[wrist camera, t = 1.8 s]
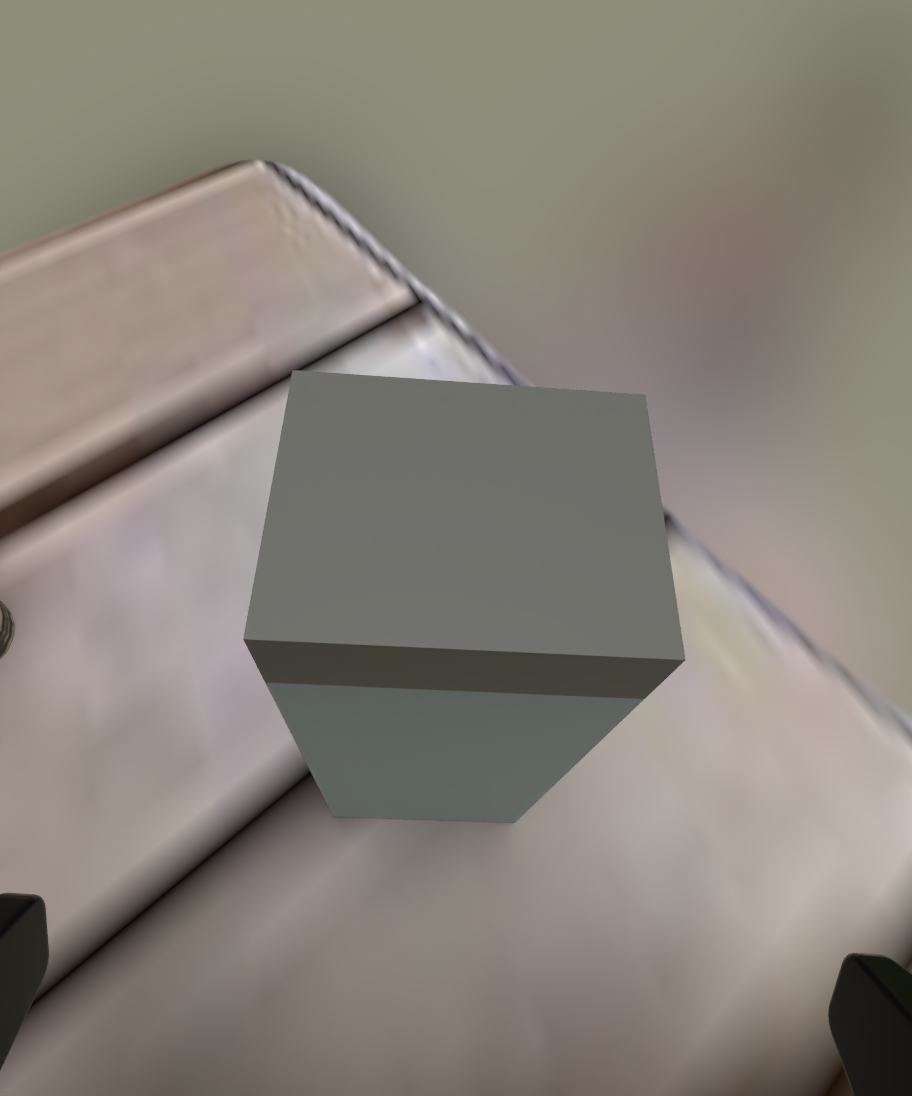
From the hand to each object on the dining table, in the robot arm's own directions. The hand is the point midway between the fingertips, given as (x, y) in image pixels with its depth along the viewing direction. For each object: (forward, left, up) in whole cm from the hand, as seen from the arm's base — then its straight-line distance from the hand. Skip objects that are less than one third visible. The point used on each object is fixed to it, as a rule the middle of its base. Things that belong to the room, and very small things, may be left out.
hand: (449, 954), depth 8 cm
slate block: (0, +5, -11) cm, 12 cm away
